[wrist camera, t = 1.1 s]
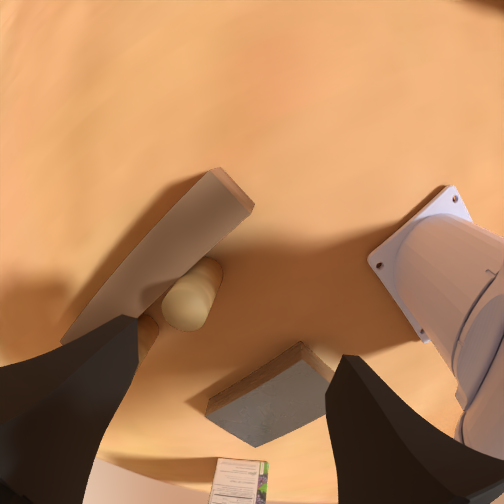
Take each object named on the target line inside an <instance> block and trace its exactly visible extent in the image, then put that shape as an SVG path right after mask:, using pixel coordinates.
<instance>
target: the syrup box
mask: <svg viewBox="0 0 504 504" xmlns="http://www.w3.org/2000/svg"><path fill="white" fill-rule="evenodd" d="M268 468H269V463H268V462H264V461H249V460H236V459H225V458H218V460H217V465H216V469H215V474H214V478H213V482H212V487H211V492H210V496H209V501H208V504H265V503H266V491H267V480H268Z"/></svg>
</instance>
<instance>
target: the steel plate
mask: <svg viewBox="0 0 504 504" xmlns="http://www.w3.org/2000/svg"><path fill="white" fill-rule="evenodd" d="M334 374H335V372H334V371H333V370H332V369H331V368H330V367H328V366H327V365H326V364H325V363H324V362H323V361H322V360H321V359H320V358H318V357H317V356H316V355H315V354H314V353H313V352H312V351H311V350H310V349H309V348H308V347H306V346H305V345H304V344H303V343H302V342H301V341H300V342H298V343H297V344H296V345H294V346H293V347H291V348H290V349H288V350H287V351H285V352H284V353H282V354H281V355H280V356H278V357H277V358H275V359H274V360H272V361H271V362H269V363H268V364H266V365H264V366H263V367H261V368H260V369H258V370H257V371H255V372H254V373H252V374H250V375H249V376H247V377H246V378H244V379H243V380H241V381H239V382H238V383H236V384H234V385H233V386H231V387H229V388H228V389H226V390H224V391H223V392H221V393H219V394H218V395H216V396H214V397H213V398H211V399H209V402H208V406H207V410H206V413H205V417H206V418H207V419H209V420H210V421H212V422H213V423H215V424H217V425H218V426H220V427H221V428H223V429H224V430H226V431H228V432H229V433H231V434H233V435H234V436H236V437H238V438H239V439H241V440H243V441H244V442H246V443H248V444H249V445H251V446H253V447H255V448H256V447H258V446H261V445H263V444H265V443H268V442H270V441H272V440H274V439H277V438H279V437H281V436H283V435H285V434H287V433H290V432H292V431H294V430H296V429H298V428H300V427H302V426H304V425H306V424H308V423H310V422H312V421H314V420H316V419H317V418H319V417H321V416H323V415H325V414H326V409H325V393H326V391H327V389H328V387H329V384H330V382H331V380H332V378H333V376H334Z"/></svg>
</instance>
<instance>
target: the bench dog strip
mask: <svg viewBox="0 0 504 504" xmlns="http://www.w3.org/2000/svg"><path fill="white" fill-rule="evenodd" d="M254 205H255V204H254V202H253V201H252V200H251V199H250V198H249V197H248V196H247V195H246V194H245V193H244V192H243V191H242V189H241V188H240V187H239V186H238V185H237V184H236V183H235V182H234V181H233V180H232V179H231V178H230V177H229V175H228V174H227V173H226V172H225V171H224V170H223V169H222V168H221V167H219V168H215V169H211V170H209V171H208V172H207V173H206V174H205V175H204V176H203V177H202V178H201V179H200V180H199V181H198V182H197V183H196V184H195V185H194V186H193V187H192V188H191V189H190V190H189V191H188V192H187V193H186V194H185V195H184V196H183V197H182V198H181V199H180V200H179V201H178V202H177V203H176V204H175V205H174V206H173V207H172V208H171V209H170V210H169V211H168V212H167V213H166V214H165V215H164V217H163V218H162V219H161V220H160V221H159V222H158V223H157V224H156V225H155V226H154V227H153V228H152V229H151V231H150V232H149V233H148V234H147V235H146V236H145V237H144V238H143V239H142V240H141V242H140V243H139V244H138V245H137V246H136V247H135V248H134V249H133V251H132V252H131V253H130V254H129V255H128V256H127V257H126V259H125V260H124V261H123V262H122V263H121V264H120V266H119V267H118V268H117V269H116V270H115V271H114V273H113V274H112V275H111V276H110V277H109V279H108V280H107V281H106V282H105V283H104V285H103V286H102V287H101V288H100V290H99V291H98V292H97V293H96V295H95V296H94V297H93V298H92V300H91V301H90V302H89V303H88V305H87V306H86V307H85V308H84V310H83V311H82V312H81V314H80V315H79V316H78V318H77V319H76V320H75V322H74V323H73V324H72V325H71V327H70V328H69V330H68V331H67V332H66V334H65V335H64V336H63V338H62V339H61V340H60V342H61V343H62V344H63V345H65V344H67V343H69V342H71V341H73V340H75V339H77V338H79V337H81V336H83V335H85V334H87V333H88V332H90V331H92V330H94V329H96V328H98V327H99V326H101V325H103V324H105V323H106V322H108V321H110V320H112V319H113V318H115V317H117V316H119V315H121V314H123V315H127V316H130V317H134V318H137V325H138V354H139V364H138V366H137V369H136V371H137V370H138V368H139V366H140V365H141V363H142V361H143V360H144V358H145V356H146V354H147V353H148V351H149V349H150V348H151V346H152V344H153V343H154V341H155V339H156V338H157V336H158V334H159V328H158V325H157V324H156V322H155V321H154V320H153V319H152V318H151V317H149V316H147V315H145V314H142V313H143V312H144V311H145V310H146V309H147V308H148V307H149V306H150V305H151V304H152V303H154V302H155V301H156V300H157V299H158V298H159V297H160V296H161V295H162V294H163V293H164V292H165V291H166V290H167V289H168V288H170V287H171V286H172V285H173V284H174V283H175V282H176V283H175V284H174V285H173V287H172V288H171V290H170V291H169V292H168V294H167V295H166V296H165V298H164V299H163V301H162V306H161V309H162V314H163V316H164V318H165V320H166V321H167V322H168V323H169V324H170V325H171V326H172V327H174V328H176V329H178V330H180V331H185V332H191V331H195V330H198V329H199V328H201V327H202V326H203V325H204V323H205V321H206V318H207V316H208V313H209V311H210V309H211V306H212V304H213V301H214V299H215V296H216V294H217V292H218V289H219V287H220V284H221V282H222V279H223V271H222V268H221V266H220V265H219V264H218V262H216V261H215V260H214V259H212V258H209V257H203V256H204V255H205V254H207V253H208V252H209V251H210V250H211V249H212V248H213V247H214V246H215V245H217V244H218V243H219V242H220V241H221V240H222V239H223V238H224V237H225V236H227V235H228V234H229V233H230V232H231V231H232V230H233V229H234V228H236V227H237V226H238V225H239V224H240V223H241V222H242V221H243V220H245V219H246V218H247V217H248V216H249V215H250V214H251V212H252V210H253V207H254ZM135 373H136V372H135ZM134 375H135V374H134Z"/></svg>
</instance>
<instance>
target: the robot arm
mask: <svg viewBox="0 0 504 504" xmlns="http://www.w3.org/2000/svg"><path fill="white" fill-rule="evenodd" d="M454 195H455V201H454V202H453V200H452V199H453V196H454ZM367 262H368V264H369V265H370V267H371V268H372V269H373V271H374V272H375V273H376V275H377V276H378V277H379V279H380V280H381V282H382V283H383V284H384V286H385V287H386V289H387V290H388V291H389V293H390V294H391V296H392V297H393V299H394V300H395V301H396V303H397V304H398V306H399V307H400V309H401V310H402V312H403V313H404V315H405V316H406V318H407V319H408V321H409V322H410V324H411V325H412V327H413V328H414V330H415V331H416V333H417V334H418V336H419V338H420V339H421V341H422V342H423V343H428V342H430V341H432V343H433V344H434V346H435V347H436V349H437V350H438V352H439V353H440V355H441V356H442V358H443V359H444V361H445V362H446V364H447V365H448V367H449V368H450V370H451V372H452V373H453V375H454V376H455V377H456V380H457V383H458V387H457V391H456V393H455V397H456V398H457V400H458V402H459V404H460V406H461V407H462V409H463V411H464V412H463V413H462V415H461V417H460V419H459V420H458V422H457V426H456V429H455V435H454V439H453V438H451V437H450V436H448V435H446V434H445V433H443V432H442V431H440V430H439V429H437V428H436V427H434V426H433V425H432V424H430V423H429V422H428V421H426V420H425V419H424V418H422V417H421V416H420V415H419V414H417V413H416V412H415V411H414V410H413V409H412V408H411V407H410V406H408V405H407V404H406V403H405V402H404V401H403V400H402V399H401V398H400V397H399V396H398V395H397V394H396V393H395V392H394V391H393V390H392V389H391V388H390V387H389V386H388V385H387V384H386V383H385V382H384V381H383V380H382V379H381V378H380V377H379V376H378V375H377V374H376V373H375V372H374V371H373V370H372V369H371V368H370V366H369V365H368V364H367V363H366V362H365V361H364V360H362V359H361V358H360V357H359V356H354V355H343V356H342V358H341V360H340V363H339V365H338V367H337V369H336V372H335V374H334V376H333V378H332V380H331V382H330V384H329V387H328V389H327V391H326V393H325V409H326V419H327V425H328V430H329V435H330V440H331V444H332V449H333V454H334V459H335V464H336V470H337V479H338V504H490V503H491V502H492V501H494V500H495V499H496V498H498V497H499V496H500V495H501V494H502V493H503V492H504V238H503V237H501V236H499V235H497V234H495V233H493V232H491V231H489V230H487V229H485V228H483V227H481V226H479V225H477V224H474V223H473V221H472V219H471V217H470V215H469V213H468V210H467V208H466V206H465V204H464V202H463V200H462V198H461V196H460V194H459V193H458V191H457V189H456V187H455V186H453V185H447V186H446V187H445V188H444V189H443V190H442V191H441V192H440V193H438V194H437V195H436V196H435V197H434V198H433V199H432V200H431V201H430V202H429V203H428V204H427V205H425V206H424V207H423V208H422V209H421V210H420V211H419V212H418V213H417V214H415V215H414V216H413V217H412V218H411V219H410V220H409V221H408V222H406V223H405V224H404V225H403V226H402V227H401V228H400V229H398V230H397V231H396V232H395V233H394V234H393V235H391V236H390V237H389V238H388V239H387V240H386V241H384V242H383V243H382V244H381V245H380V246H378V247H377V248H376V249H375V250H374V251H372V252H371V253H370V254H369V255H368V258H367ZM380 262H381V263H382V265H381V267H379V268H376V265H377V264H378V263H380ZM421 329H423V330H422V331H421ZM138 364H139V354H138V325H137V318H134V317H130V316H127V315H123V314H121V315H119V316H117V317H115V318H113V319H112V320H110V321H108V322H106V323H105V324H103V325H101V326H99V327H98V328H96V329H94V330H92V331H90V332H88V333H87V334H85V335H83V336H81V337H79V338H77V339H75V340H73V341H71V342H69V343H67V344H65V345H63V346H61V347H59V348H57V349H55V350H52V351H50V352H48V353H45V354H43V355H40V356H37V357H35V358H32V359H29V360H26V361H22V362H18V363H15V364H11V365H7V366H3V367H0V504H82V503H83V498H84V494H85V490H86V485H87V482H88V478H89V475H90V472H91V469H92V465H93V462H94V459H95V456H96V454H97V451H98V448H99V445H100V442H101V440H102V437H103V435H104V433H105V431H106V429H107V427H108V425H109V423H110V421H111V420H112V418H113V416H114V414H115V412H116V410H117V409H118V407H119V405H120V403H121V401H122V399H123V398H124V396H125V394H126V392H127V390H128V388H129V386H130V384H131V382H132V379H133V377H134V374H135V372H136V369H137V366H138Z"/></svg>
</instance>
